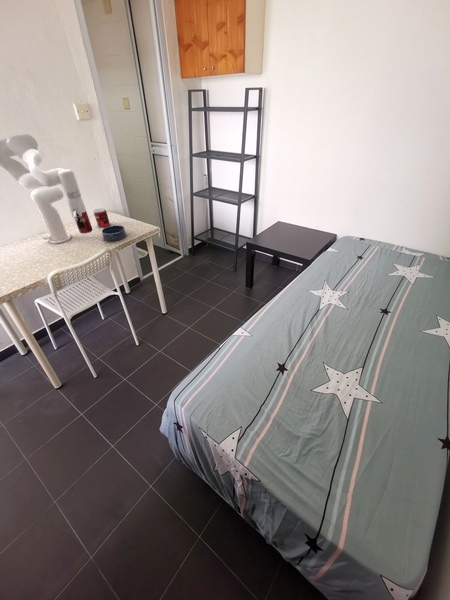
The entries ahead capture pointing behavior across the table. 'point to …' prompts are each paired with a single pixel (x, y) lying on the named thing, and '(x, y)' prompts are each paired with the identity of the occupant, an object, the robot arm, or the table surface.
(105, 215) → the canned food
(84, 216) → the soda can
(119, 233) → the dark blue bowl
